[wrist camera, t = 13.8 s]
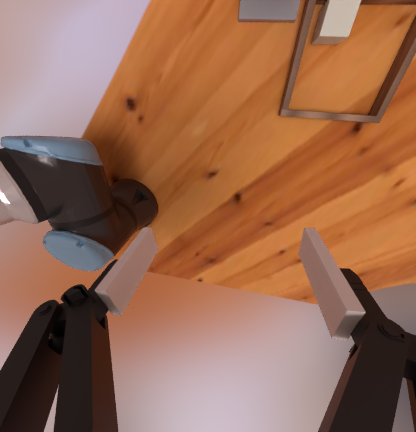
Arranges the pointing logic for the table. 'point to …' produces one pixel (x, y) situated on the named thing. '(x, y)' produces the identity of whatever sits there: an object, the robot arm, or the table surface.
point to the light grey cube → (335, 21)
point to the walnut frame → (410, 46)
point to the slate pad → (268, 10)
